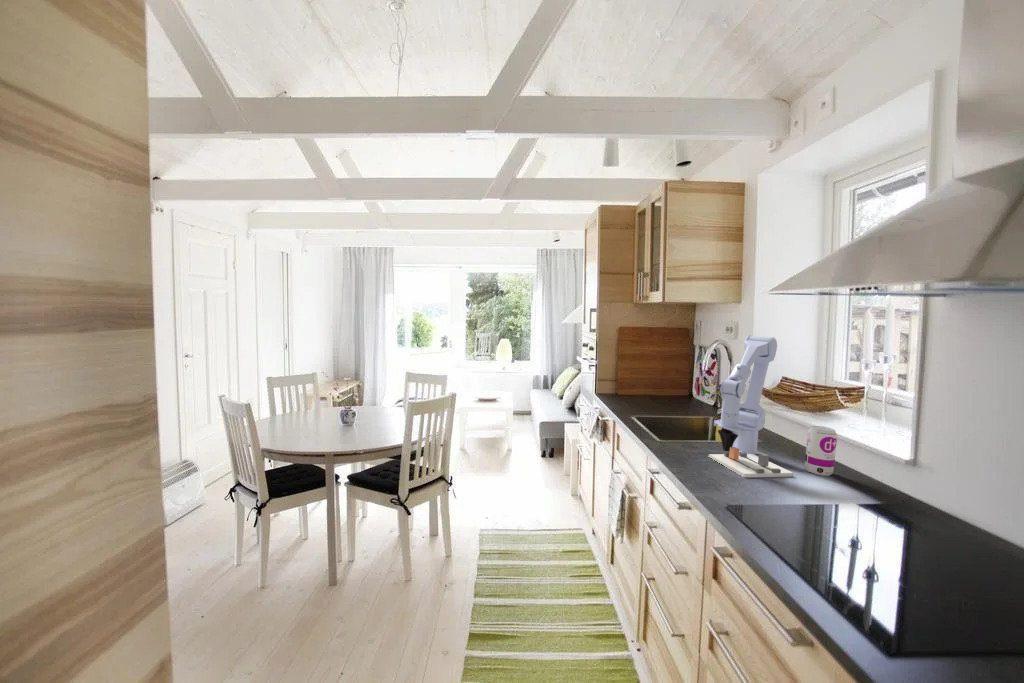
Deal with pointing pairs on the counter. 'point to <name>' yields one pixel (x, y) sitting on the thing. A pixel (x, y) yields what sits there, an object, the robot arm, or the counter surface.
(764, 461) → the grey rectangular box
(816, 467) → the supplement can
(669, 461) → the counter surface
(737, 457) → the fader orange
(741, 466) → the panel
